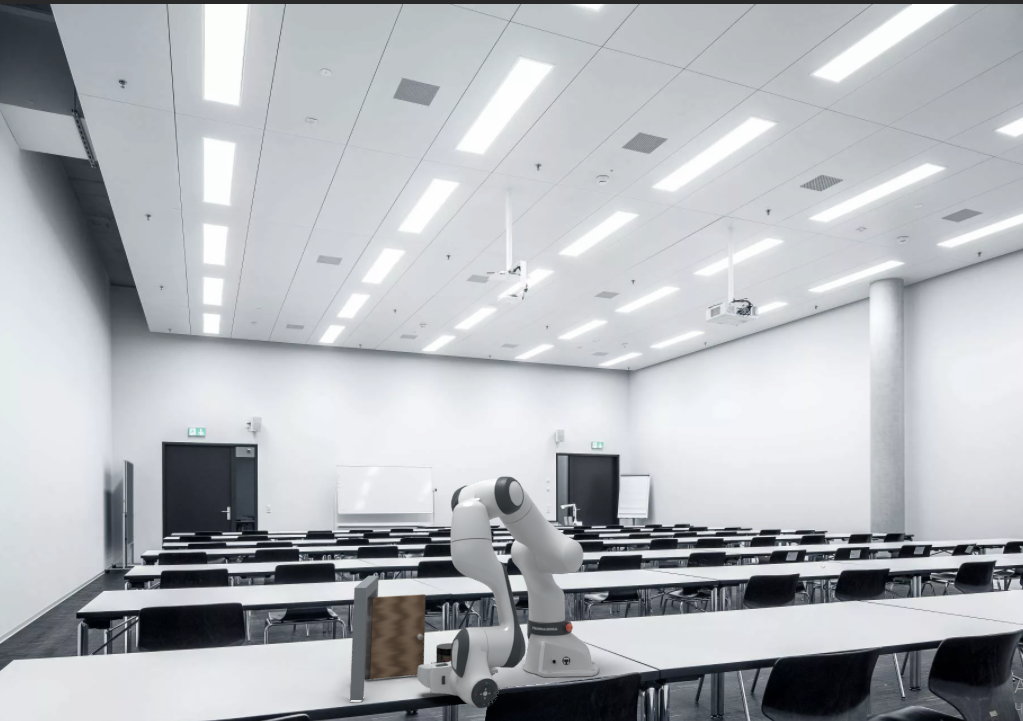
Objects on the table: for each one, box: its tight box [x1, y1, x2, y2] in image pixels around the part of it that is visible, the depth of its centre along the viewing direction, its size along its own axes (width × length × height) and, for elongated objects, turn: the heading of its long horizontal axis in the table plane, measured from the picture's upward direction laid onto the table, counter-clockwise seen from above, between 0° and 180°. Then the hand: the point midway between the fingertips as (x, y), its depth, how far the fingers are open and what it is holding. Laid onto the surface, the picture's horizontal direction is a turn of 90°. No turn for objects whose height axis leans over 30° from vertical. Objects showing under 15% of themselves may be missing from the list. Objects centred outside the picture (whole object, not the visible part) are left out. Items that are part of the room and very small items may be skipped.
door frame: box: [349, 575, 380, 702], centre depth 188 cm, size 24×3×28 cm, turn 3°
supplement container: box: [435, 642, 452, 663], centre depth 189 cm, size 7×7×10 cm
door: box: [364, 594, 426, 681], centre depth 197 cm, size 17×3×22 cm, turn 111°
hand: (447, 663), depth 190 cm, fingers closed on supplement container, 7 cm apart
